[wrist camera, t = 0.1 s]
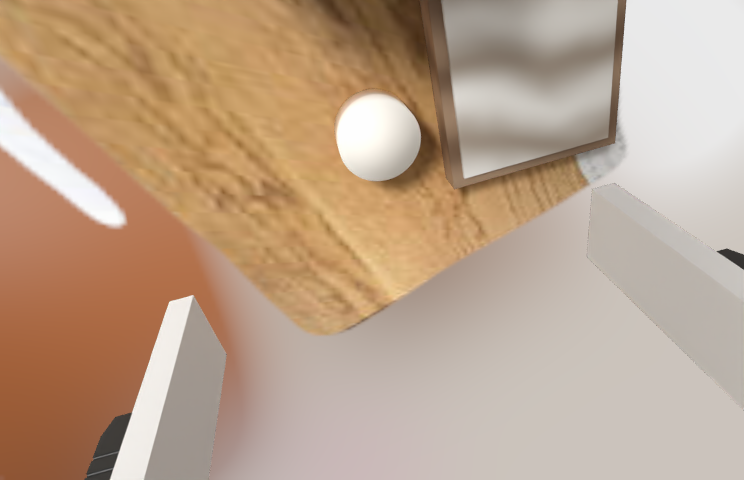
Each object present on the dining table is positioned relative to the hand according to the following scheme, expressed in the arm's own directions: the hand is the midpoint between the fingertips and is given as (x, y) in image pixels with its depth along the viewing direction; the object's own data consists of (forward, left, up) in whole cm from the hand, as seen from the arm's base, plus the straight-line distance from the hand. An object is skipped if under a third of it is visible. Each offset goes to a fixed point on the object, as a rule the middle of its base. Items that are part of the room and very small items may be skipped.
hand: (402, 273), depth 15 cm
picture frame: (+2, +17, -28) cm, 32 cm away
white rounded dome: (+5, +3, -28) cm, 29 cm away
